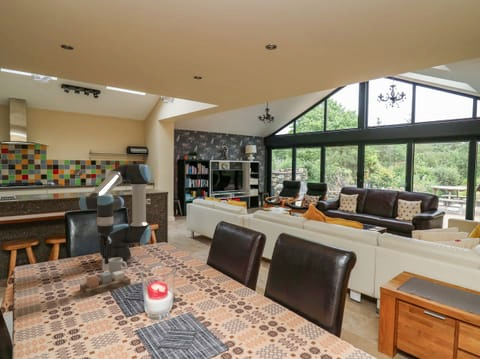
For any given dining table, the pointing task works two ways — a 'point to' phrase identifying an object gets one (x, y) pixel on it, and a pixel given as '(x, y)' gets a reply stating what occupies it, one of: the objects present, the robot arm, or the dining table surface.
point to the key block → (104, 286)
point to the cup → (116, 264)
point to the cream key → (118, 275)
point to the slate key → (105, 278)
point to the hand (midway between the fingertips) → (105, 269)
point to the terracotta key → (92, 281)
